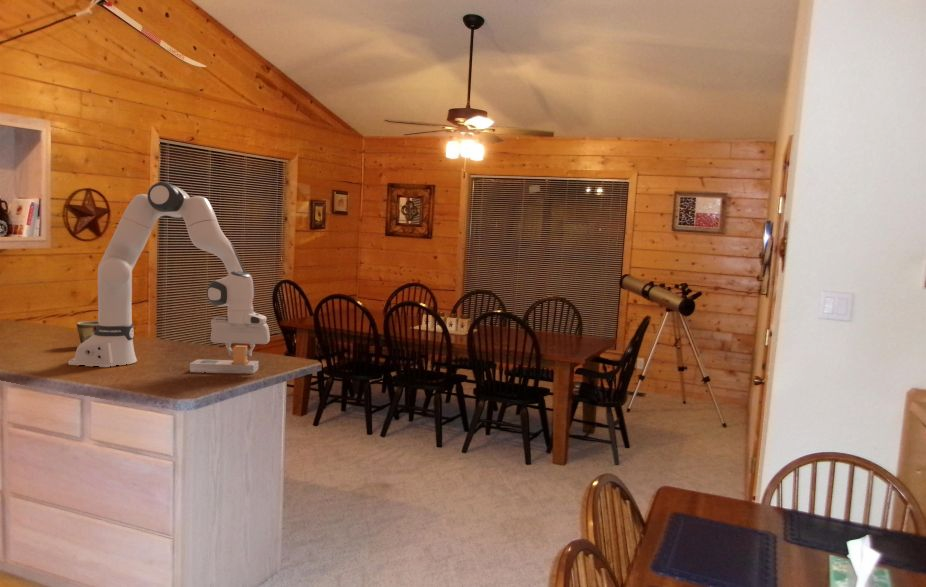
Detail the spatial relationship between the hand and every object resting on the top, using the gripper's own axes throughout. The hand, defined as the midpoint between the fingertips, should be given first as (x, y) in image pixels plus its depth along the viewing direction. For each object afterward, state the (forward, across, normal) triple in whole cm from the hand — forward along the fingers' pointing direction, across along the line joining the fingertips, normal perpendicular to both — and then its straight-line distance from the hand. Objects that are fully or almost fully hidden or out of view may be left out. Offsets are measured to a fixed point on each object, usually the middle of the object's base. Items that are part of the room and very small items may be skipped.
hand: (240, 355), depth 256 cm
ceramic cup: (+6, -70, +39) cm, 80 cm away
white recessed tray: (+6, -5, 0) cm, 8 cm away
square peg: (+6, 0, 0) cm, 6 cm away
